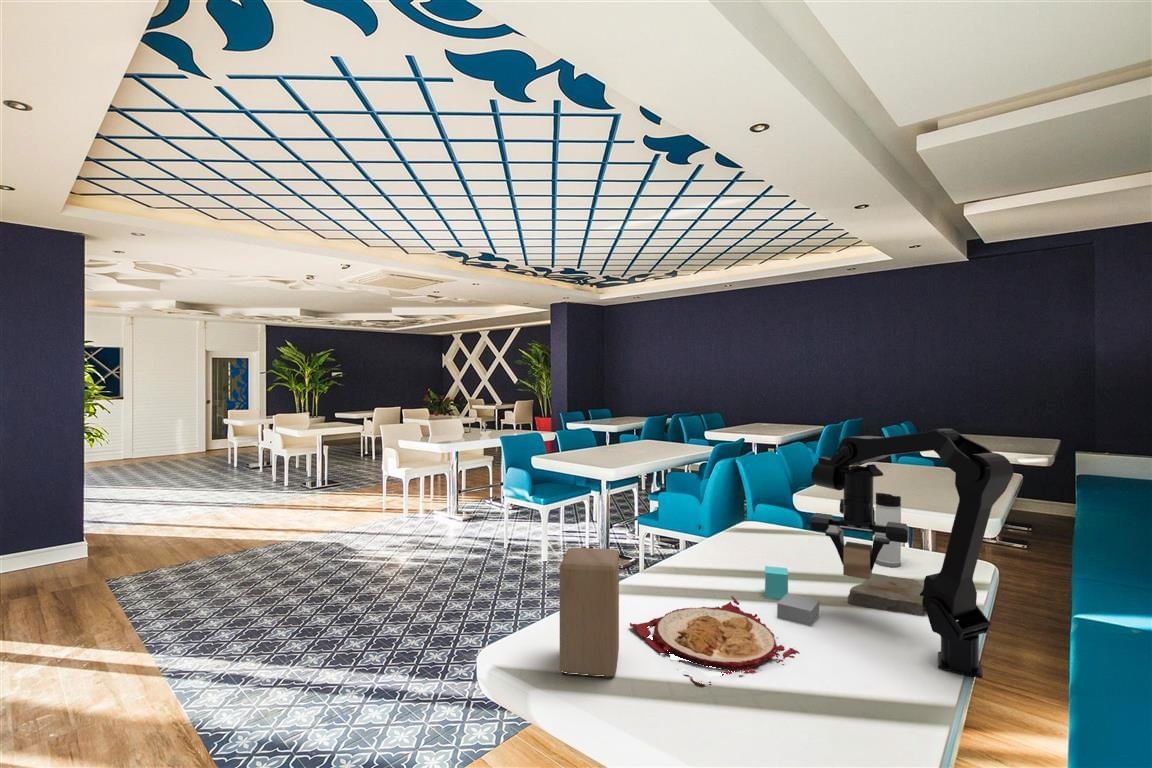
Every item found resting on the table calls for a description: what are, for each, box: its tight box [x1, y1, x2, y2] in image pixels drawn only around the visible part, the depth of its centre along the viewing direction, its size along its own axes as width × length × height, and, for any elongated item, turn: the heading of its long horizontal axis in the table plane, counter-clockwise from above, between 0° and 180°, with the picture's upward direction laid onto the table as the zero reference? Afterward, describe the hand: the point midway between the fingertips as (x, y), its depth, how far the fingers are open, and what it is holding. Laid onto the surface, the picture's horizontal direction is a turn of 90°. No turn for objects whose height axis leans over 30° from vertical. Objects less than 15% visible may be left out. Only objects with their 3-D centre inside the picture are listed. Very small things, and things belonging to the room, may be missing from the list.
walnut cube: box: [842, 541, 873, 580], centre depth 122 cm, size 5×5×6 cm
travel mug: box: [874, 492, 902, 568], centre depth 158 cm, size 6×7×20 cm
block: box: [559, 547, 620, 677], centre depth 103 cm, size 10×10×20 cm
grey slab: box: [776, 592, 820, 627], centre depth 124 cm, size 7×7×4 cm
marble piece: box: [847, 572, 925, 617], centre depth 133 cm, size 17×15×4 cm
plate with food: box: [629, 595, 800, 686], centre depth 112 cm, size 25×26×4 cm
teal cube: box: [764, 565, 789, 600], centre depth 136 cm, size 5×5×6 cm
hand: (857, 566), depth 122 cm, fingers closed on walnut cube, 5 cm apart
